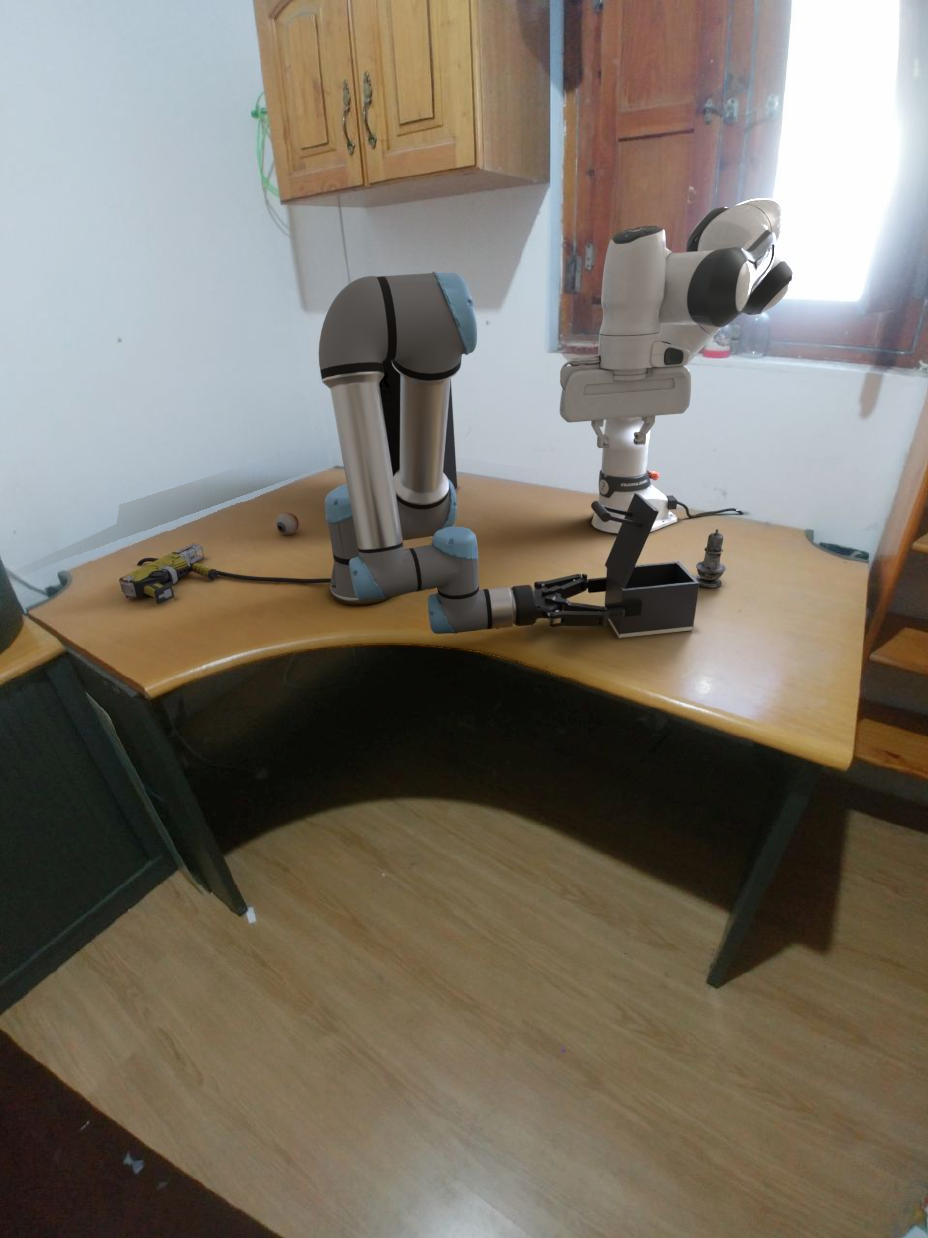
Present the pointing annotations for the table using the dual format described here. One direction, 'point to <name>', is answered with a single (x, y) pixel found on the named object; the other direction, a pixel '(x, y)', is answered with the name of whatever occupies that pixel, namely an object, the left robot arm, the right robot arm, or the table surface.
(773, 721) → the table surface
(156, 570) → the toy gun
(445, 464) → the black computer tower
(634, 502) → the lid
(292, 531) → the eyeball
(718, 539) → the salt shaker
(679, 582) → the chest
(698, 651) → the table surface
